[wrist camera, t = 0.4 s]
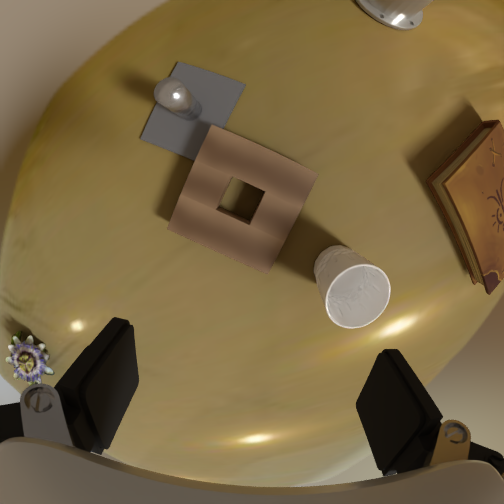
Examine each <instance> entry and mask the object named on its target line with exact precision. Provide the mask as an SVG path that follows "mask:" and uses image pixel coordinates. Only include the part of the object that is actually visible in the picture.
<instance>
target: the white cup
mask: <svg viewBox="0 0 504 504" xmlns="http://www.w3.org/2000/svg"><path fill="white" fill-rule="evenodd" d="M314 275H315V278H316V281H317V286H318V289H319V292H320V296H321V298H322V301H323V303H324V306H325V309H326V311H327V314H328V316H329V317H330V319H331V320H332V321H333V322H334V323H335V324H337V325H339V326H341V327H344V328H359V327H363V326H365V325H368V324H369V323H371V322H373V321H374V320H375V319H377V318H378V317H379V316H380V315H381V313H382V312H383V311H384V309H385V308H386V306H387V304H388V301H389V298H390V283H389V280H388V278H387V276H386V274H385V273H384V272H383V271H382V270H381V269H380V268H378V267H377V266H376V265H374V264H373V263H371V262H370V261H369V260H367V259H366V258H365V257H363V256H361V255H360V254H359V253H357V252H355V251H353V250H352V249H350V248H348V247H345V246H342V245H337V246H330V247H328V248H327V249H325V250H324V251H322V252H321V253H320V255H319V256H318V258H317V259H316V261H315V265H314Z"/></svg>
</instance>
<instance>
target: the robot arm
mask: <svg viewBox="0 0 504 504" xmlns="http://www.w3.org/2000/svg"><path fill="white" fill-rule="evenodd" d="M432 1H433V0H356V2H357V3H358V4H359V6H360V7H361V8H362V9H363V10H364V11H365V12H366V13H367V14H369V15H370V16H371V17H372V18H374V19H375V20H377V21H379V22H380V23H382V24H384V25H386V26H389V27H392V28H395V29H399V30H410V29H413V28H415V27H417V26H418V25H419V24H420V23H421V21H422V18H423V12H422V9H423V8H425V7H426V6H427V5H428V4H430V3H431V2H432ZM138 383H139V375H138V367H137V359H136V349H135V338H134V327H133V325H130V323H129V321H128V320H125V319H121V318H116V317H114V318H112V319H111V321H110V322H109V323H108V324H107V325H106V326H105V327H104V329H103V330H102V331H101V332H100V333H99V335H98V336H97V337H96V338H95V339H94V341H93V342H92V343H91V344H90V345H89V346H87V347H86V348H85V349H84V350H83V352H82V353H81V354H80V355H79V357H78V358H77V359H76V360H75V361H74V363H73V364H72V365H71V366H70V368H69V369H68V370H67V371H66V373H65V374H64V375H63V376H62V378H61V379H60V380H59V382H58V383H57V384H56V385H55V387H54V388H53V387H51V386H50V385H46V384H34V385H31V386H29V387H28V388H26V389H25V390H24V391H23V393H22V395H21V398H20V402H19V403H12V404H7V405H0V504H504V458H503V456H502V455H501V454H500V453H498V452H496V451H494V450H491V449H489V448H486V447H483V446H481V445H478V444H476V443H473V442H471V441H470V440H471V434H470V431H469V429H468V428H467V427H466V425H464V424H463V423H461V422H459V421H457V420H447V421H445V422H444V423H443V424H442V423H441V422H440V420H441V419H442V418H443V416H442V414H441V413H440V411H439V409H438V408H437V406H436V405H435V403H434V401H433V400H432V398H431V397H430V395H429V394H428V392H427V391H426V389H425V388H424V386H423V385H422V383H421V382H420V380H419V379H418V377H417V376H416V374H415V373H414V371H413V370H412V368H411V367H410V366H409V364H408V363H407V361H406V360H405V358H404V357H403V355H402V354H401V353H400V351H399V350H398V349H384V350H383V351H382V353H379V354H378V356H377V358H376V361H375V363H374V365H373V368H372V370H371V372H370V374H369V376H368V378H367V381H366V383H365V385H364V387H363V389H362V391H361V393H360V395H359V397H358V399H357V402H356V409H357V412H358V414H359V417H360V420H361V422H362V425H363V428H364V431H365V433H366V436H367V439H368V442H369V445H370V447H371V450H372V453H373V456H374V459H375V462H376V465H377V468H378V469H379V470H381V471H382V474H383V476H386V477H381V478H376V479H371V480H365V481H359V482H352V483H344V484H335V485H324V486H310V487H251V486H237V485H226V484H217V483H209V482H202V481H196V480H190V479H184V478H179V477H174V476H169V475H165V474H160V473H156V472H152V471H148V470H145V469H141V468H137V467H133V466H130V465H126V464H123V463H120V462H117V461H113V460H110V459H107V458H104V457H102V456H99V455H96V454H93V453H90V452H91V451H92V452H95V453H97V454H100V455H101V454H102V452H103V450H104V449H108V448H109V447H110V445H111V442H112V440H113V438H114V436H115V433H116V431H117V429H118V427H119V425H120V423H121V420H122V418H123V416H124V414H125V412H126V410H127V408H128V405H129V403H130V401H131V399H132V397H133V395H134V393H135V391H136V389H137V386H138ZM396 473H397V474H396ZM393 474H395V475H393ZM389 475H391V476H389Z"/></svg>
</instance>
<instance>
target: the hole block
mask: <svg viewBox="0 0 504 504" xmlns="http://www.w3.org/2000/svg"><path fill="white" fill-rule="evenodd" d="M232 177H235V178H237V179H239V180H242V181H244V182H246V183H248V184H250V185H253V186H255V187H257V188H259V189H261V190H263V191H264V193H263V195H262V197H261V199H260V201H259V203H258V205H257V208H256V210H255V212H254V214H253V216H252V218H251V220H250V221H249V220H247V219H245V218H243V217H241V216H238V215H236V214H234V213H232V212H230V211H227V210H225V209H223V208H221V207H219V205H220V203H221V201H222V199H223V196H224V194H225V192H226V190H227V188H228V185H229V183H230V181H231V179H232ZM317 177H318V174H317V173H316V172H314V171H312V170H310V169H308V168H306V167H304V166H302V165H300V164H298V163H296V162H294V161H292V160H290V159H288V158H286V157H284V156H282V155H280V154H278V153H276V152H274V151H271V150H269V149H267V148H265V147H263V146H261V145H259V144H256V143H254V142H252V141H250V140H247V139H245V138H243V137H241V136H238V135H236V134H234V133H231V132H229V131H226V130H224V129H222V128H219V127H217V126H214V125H211V127H210V129H209V131H208V134H207V136H206V138H205V140H204V142H203V144H202V146H201V148H200V151H199V153H198V155H197V157H196V159H195V162H194V164H193V166H192V169H191V171H190V173H189V175H188V178H187V180H186V182H185V185H184V187H183V190H182V192H181V194H180V197H179V199H178V202H177V204H176V207H175V209H174V212H173V214H172V217H171V219H170V222H169V225H168V227H167V229H168V230H170V231H172V232H175V233H177V234H179V235H181V236H183V237H185V238H188V239H190V240H192V241H194V242H196V243H199V244H201V245H203V246H205V247H207V248H210V249H212V250H214V251H216V252H219V253H221V254H223V255H225V256H227V257H230V258H232V259H234V260H236V261H239V262H241V263H243V264H245V265H247V266H250V267H252V268H254V269H256V270H259V271H261V272H263V273H265V274H268V273H269V271H270V269H271V267H272V266H273V264H274V262H275V260H276V258H277V256H278V254H279V252H280V250H281V248H282V246H283V244H284V242H285V240H286V238H287V236H288V234H289V232H290V231H291V229H292V227H293V225H294V223H295V221H296V219H297V217H298V215H299V213H300V211H301V209H302V207H303V205H304V203H305V201H306V199H307V197H308V195H309V193H310V191H311V189H312V187H313V185H314V183H315V181H316V179H317Z"/></svg>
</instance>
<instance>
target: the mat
mask: <svg viewBox="0 0 504 504" xmlns="http://www.w3.org/2000/svg"><path fill="white" fill-rule="evenodd" d="M170 77H174V78H177V79H179V80H180V81H181V82H182V84H183V85H184V86H185V87H186V88H187V89H188V90H189V91H190V92H191V94H192V95H193V96H194V97H195V98H196V99H197V100H198V102H199V103H200V104H201V106H202V113H201V115H200V116H199V117H198V118H197V119H196V120H193V121H186V120H184V119H183V118H181V117H180V116H178V115H177V114H175V113H173V112H172V111H170V110H169V109H167V108H166V107H164V106H163V105H161V104H159V103H158V102H157V103H156V105H155V107H154V110H153V112H152V114H151V116H150V118H149V120H148V123H147V125H146V127H145V129H144V132H143V134H142V136H141V140H144V141H146V142H149V143H152V144H154V145H157V146H159V147H162V148H164V149H167V150H169V151H172V152H174V153H177V154H179V155H182V156H184V157H187V158H189V159H191V160H194V161H195V159H196V157H197V155H198V153H199V151H200V148H201V146H202V144H203V142H204V140H205V138H206V136H207V134H208V131H209V129H210V127H211V125H214V126H217V127H219V128H222V129H224V127H225V125H226V123H227V120H228V118H229V116H230V115H231V113H232V111H233V109H234V107H235V105H236V103H237V101H238V99H239V97H240V95H241V93H242V91H243V89H244V88H245V86H246V84H243V83H240V82H238V81H235V80H233V79H230V78H227V77H224V76H222V75H219V74H216V73H213V72H210V71H207V70H204V69H201V68H198V67H195V66H191V65H188V64H185V63H181V62H178V63H177V65H176V67H175V69H174V70H173V72H172V74H171V76H170Z"/></svg>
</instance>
